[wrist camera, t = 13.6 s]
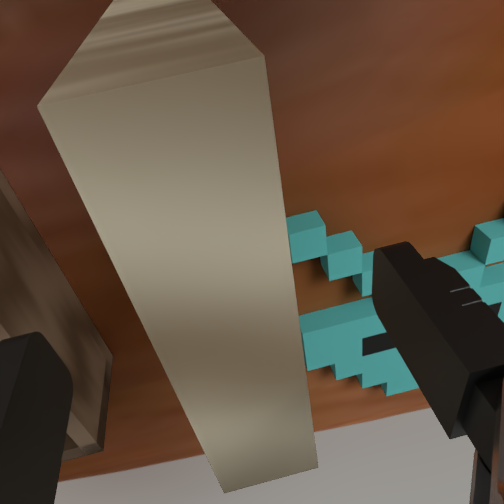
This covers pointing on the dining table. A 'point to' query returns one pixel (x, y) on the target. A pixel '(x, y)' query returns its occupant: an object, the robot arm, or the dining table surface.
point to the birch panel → (194, 220)
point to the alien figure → (362, 311)
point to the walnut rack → (53, 322)
